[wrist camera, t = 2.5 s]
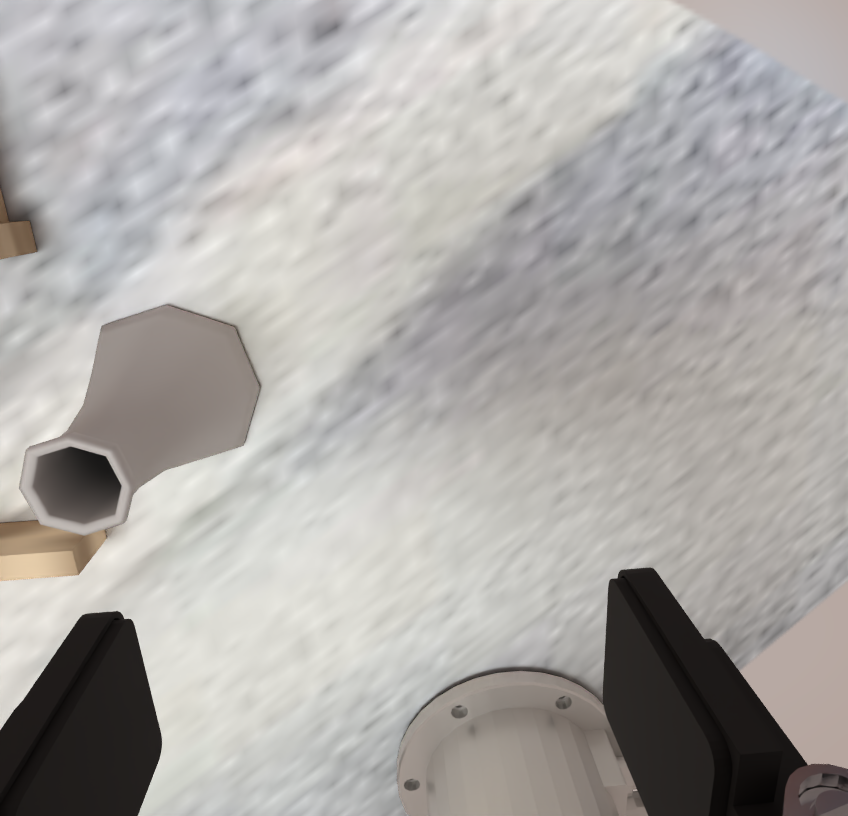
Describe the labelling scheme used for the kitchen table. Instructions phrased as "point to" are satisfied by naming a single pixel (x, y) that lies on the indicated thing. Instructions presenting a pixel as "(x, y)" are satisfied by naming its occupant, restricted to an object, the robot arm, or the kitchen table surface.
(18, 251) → the zigzag wooden frame
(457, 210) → the kitchen table surface
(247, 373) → the flask
